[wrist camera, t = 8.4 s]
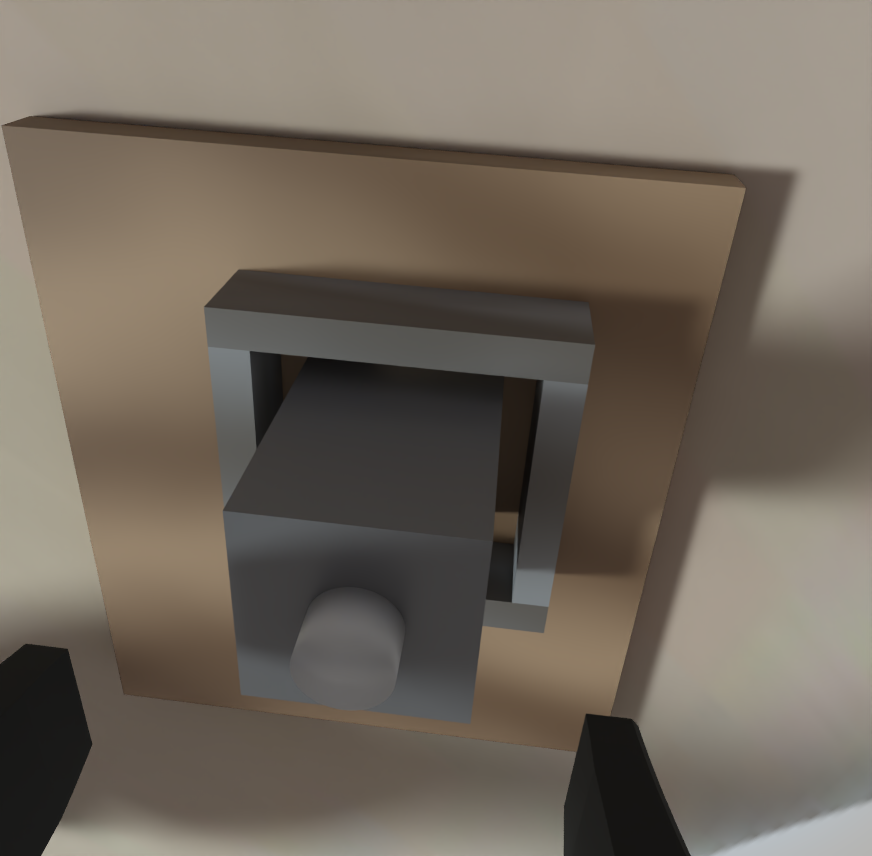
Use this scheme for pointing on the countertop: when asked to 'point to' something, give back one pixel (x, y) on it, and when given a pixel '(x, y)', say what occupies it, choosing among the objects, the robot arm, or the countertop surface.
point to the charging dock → (372, 343)
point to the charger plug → (368, 540)
